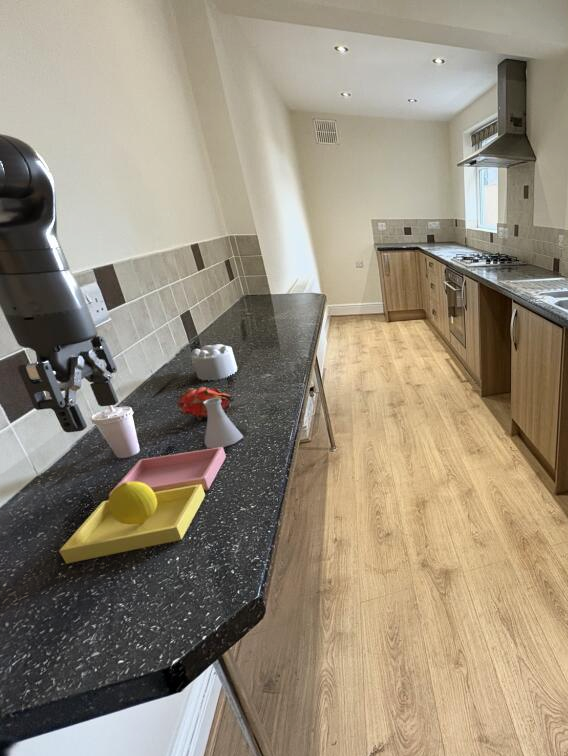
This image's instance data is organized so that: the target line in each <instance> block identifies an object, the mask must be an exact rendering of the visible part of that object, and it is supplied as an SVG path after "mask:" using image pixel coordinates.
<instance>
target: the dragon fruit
mask: <svg viewBox="0 0 568 756" xmlns="http://www.w3.org/2000/svg"><path fill="white" fill-rule="evenodd" d="M212 398H220V399H221V401H222V402H221V406H222V409H223V411H225V410H227V409H228V408H231V403H232V402H235V398H234V396H232V395H231V394H229V393H224V392H221V390H219V389H218V388H209V387H205V386H200V387H199V388H195V387H194V388H192V387H191V388H188V389H187V391H183V392H182V393H181V395H180V396H179V398H178V402H177V403H176V404H177V407H178V408H180V409H179V412H178V413H181V414H183V415H185V416H186V415H188V416H189V415H192V416H194V417H195V418H196V419H197V420H198V421H201V420H202V419H203V418H208V414H207V408H206V406H205V405H204V404H203V402H204V401H206V400H208V399H212Z"/></svg>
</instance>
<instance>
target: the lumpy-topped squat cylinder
mask: <svg viewBox="0 0 568 756" xmlns="http://www.w3.org/2000/svg"><path fill="white" fill-rule="evenodd" d="M190 357H191V361H192V364H193V367H194V370H195V372H196V373H195V374H196V376H197V379H198V378H199V379H198V380H200V379H201V380H200V381H204V380H208V381H207V382H211V381H210V380H214V381H218V379H219V380H223V379H226V378H229V377H231V376H232V374H233V375H235V374H236V373H237V371H238V365H237V362H236V358H235V355H234V352H233V348H232V346H230V345H225V344H222V343H219V344H218V343H217V344H209V345H203V346H202V347H201V348H194V349H193V350H192V351H191V356H190ZM235 372H236V373H235ZM230 375H231V376H230ZM228 376H229V377H228ZM225 377H226V378H225ZM222 378H223V379H222Z"/></svg>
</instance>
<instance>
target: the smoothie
mask: <svg viewBox="0 0 568 756" xmlns="http://www.w3.org/2000/svg"><path fill="white" fill-rule="evenodd" d="M113 406H114V405H111V406H108V408H107V409H103V410H100V411H98V412H95V413H94V414H92V415H91V417H90V421H91V423H92V424H93V425H95V426H96V427H97V430H99V432H100V434H101V436H103V438H104V440H105V441H106V443H107V444H108V446H110V449H111V450H112V452H113V453H114V455H115V456H116V458H117V459H127V458H131V457H133V456H135V455H138V453H140V451H141V449H140V445H139V440H138V435H137V430H136V426H135V422H134V417H133V415H134V411H133V408H132V407H130V406H116V407H113Z"/></svg>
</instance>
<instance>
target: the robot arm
mask: <svg viewBox="0 0 568 756" xmlns="http://www.w3.org/2000/svg"><path fill="white" fill-rule="evenodd" d="M55 186H56V185H55V181H54V177H53V174H52V172H51V170H50V168H49V166H48V164H47V163H46V161H45V160H44V159H43V158H42V156H41V155H40V154H39V153H38V151H36V149H34V148H33V147H32V146H31V145H30V144H28V143H27V142H25V141H23V140H22V139H19V138H17V137H14V136H11V135H7V134H2V133H0V309H1V312H2V313H3V315H4V318H5V320H6V322H7V324H8V326H9V328H10V330H11V332H12V335H13V336H14V339H15V341H16V343H17V345H18V346H20V347H22V348H25V349H30V350H32V351H34V352H35V357H36V362H33V363H24V364H19V365H18V366H17V370H18V373H19V375H20V377H21V380H22V382H23V384H24V387H25V390H26V392H27V394H28V396H29V399H30V401H31V403H32V406H33V408H34V409H35V410H36V411H41V410H49V409H50V410H52V412H54V415H55V417H56V419H57V421H58V422H59V426H60V427H61V429H62V430H63V432H65V433H75V432H76V433H77V432H82V431H84V430H86V428H87V427H88V424H87V422H86V421H85V419H84V416H83V414H82V412H81V409H80V406H79V404H78V403H76V402H77V401H76V399H77V392H78V390H80V389H81V388H82V380H84V379H85V380H86V381H87V382H88V383H90V384H89V386H90V388H91V391H92V393H93V396H94V398H95V400H96V402H97V405H98V406H99V407H109V406H111V405H112V406H115V405H116V404H118V402H119V398H118V396H117V394H116V392H115V389H114V386H113V384H112V381H113V379H114V378H113V374H115V373H116V374H117V371H118V368H117V365H116V363H115V360H114V359H113V355H112V354H111V352H110V349H109V347H108V345H107V342H106V340H105V337H104V336H103V335H98V333H99V332H98V330H97V327H96V325H95V321H94V320H93V316H92V314H91V311H90V309H89V306H88V304H87V301H86V299H85V297H84V294H83V291H82V288H81V286H80V285H79V282H78V280H77V279H76V278H75V276H74V274H73V272H72V270H71V269H70V266H69V263H68V261H67V258H66V255H65V253H64V250H63V248H62V244H61V242H60V240H59V238H58V237H59V236H58V217H57V200H56V187H55ZM102 360H103V361H104V362H105V363H104V362H103V361H102ZM42 392H45V399H44V397H43V393H42ZM62 392H64V395H63V393H62Z"/></svg>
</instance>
